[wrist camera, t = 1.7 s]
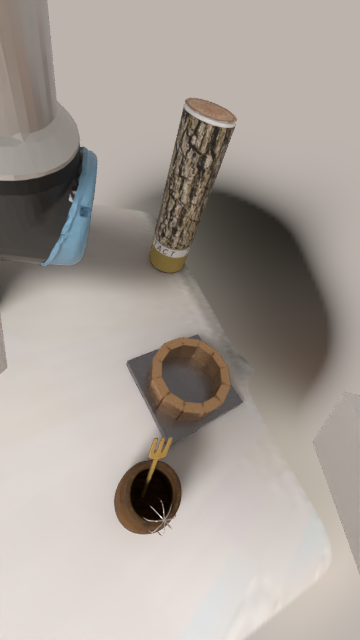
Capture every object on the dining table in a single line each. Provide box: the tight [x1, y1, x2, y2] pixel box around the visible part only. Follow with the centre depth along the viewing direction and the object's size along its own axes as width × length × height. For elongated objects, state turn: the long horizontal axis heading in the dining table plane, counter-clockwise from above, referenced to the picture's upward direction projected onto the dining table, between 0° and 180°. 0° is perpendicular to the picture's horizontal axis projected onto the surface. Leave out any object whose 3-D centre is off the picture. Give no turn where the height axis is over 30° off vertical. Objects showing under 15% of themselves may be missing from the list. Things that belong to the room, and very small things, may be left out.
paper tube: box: [150, 98, 237, 273], centre depth 43 cm, size 7×7×25 cm
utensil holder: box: [114, 437, 181, 536], centre depth 25 cm, size 6×6×12 cm
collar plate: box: [126, 335, 242, 446], centre depth 37 cm, size 12×12×4 cm
